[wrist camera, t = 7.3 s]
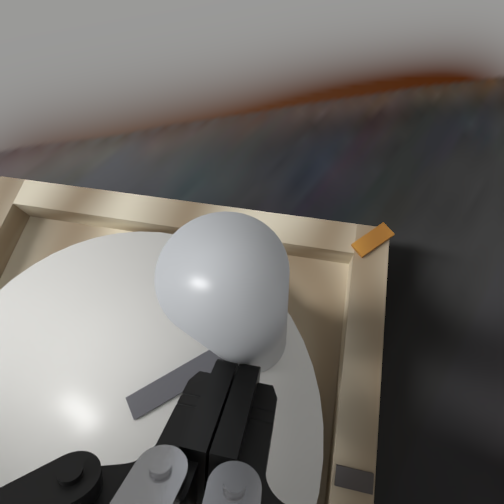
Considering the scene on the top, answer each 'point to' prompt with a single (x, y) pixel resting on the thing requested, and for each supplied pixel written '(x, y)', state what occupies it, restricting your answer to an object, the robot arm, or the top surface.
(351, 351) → the dial housing
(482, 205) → the top surface
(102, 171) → the top surface
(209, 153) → the top surface
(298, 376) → the dial
